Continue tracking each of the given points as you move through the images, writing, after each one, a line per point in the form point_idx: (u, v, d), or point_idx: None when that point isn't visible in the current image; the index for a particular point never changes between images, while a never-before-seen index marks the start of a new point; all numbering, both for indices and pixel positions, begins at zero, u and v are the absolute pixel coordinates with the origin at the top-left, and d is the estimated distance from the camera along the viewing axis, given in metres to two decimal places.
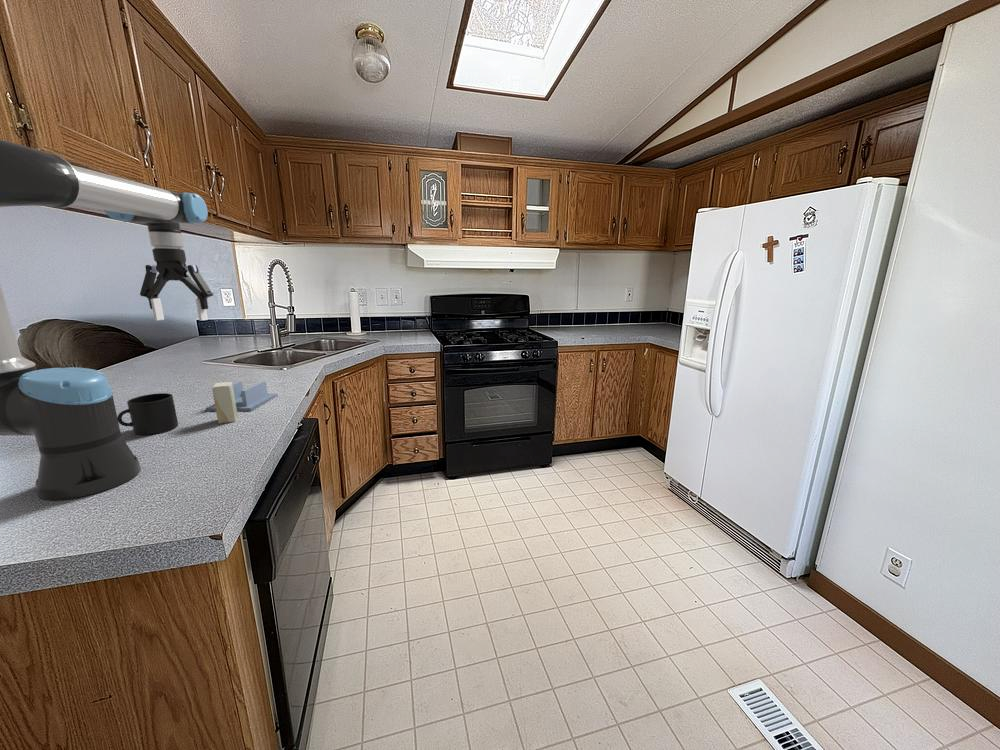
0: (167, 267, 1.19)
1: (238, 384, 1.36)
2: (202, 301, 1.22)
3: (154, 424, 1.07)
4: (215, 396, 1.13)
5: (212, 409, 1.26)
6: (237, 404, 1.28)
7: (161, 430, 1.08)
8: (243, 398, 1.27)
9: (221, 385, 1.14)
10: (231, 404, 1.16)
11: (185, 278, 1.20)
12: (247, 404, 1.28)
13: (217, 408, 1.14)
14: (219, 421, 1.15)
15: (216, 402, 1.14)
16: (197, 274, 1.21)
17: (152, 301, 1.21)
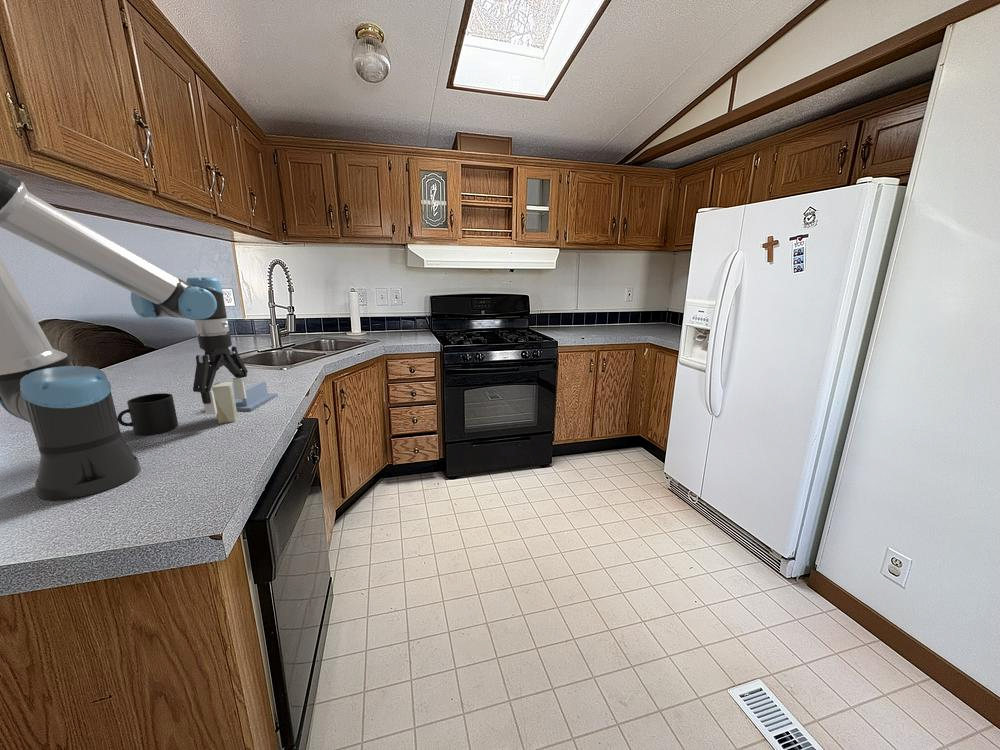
0: None
1: None
2: None
3: (154, 424, 1.07)
4: (215, 396, 1.13)
5: None
6: (237, 404, 1.28)
7: (161, 430, 1.08)
8: None
9: (221, 385, 1.14)
10: (231, 404, 1.16)
11: (207, 367, 1.10)
12: (247, 404, 1.28)
13: (217, 408, 1.14)
14: (219, 421, 1.15)
15: (216, 402, 1.14)
16: (201, 365, 1.07)
17: None
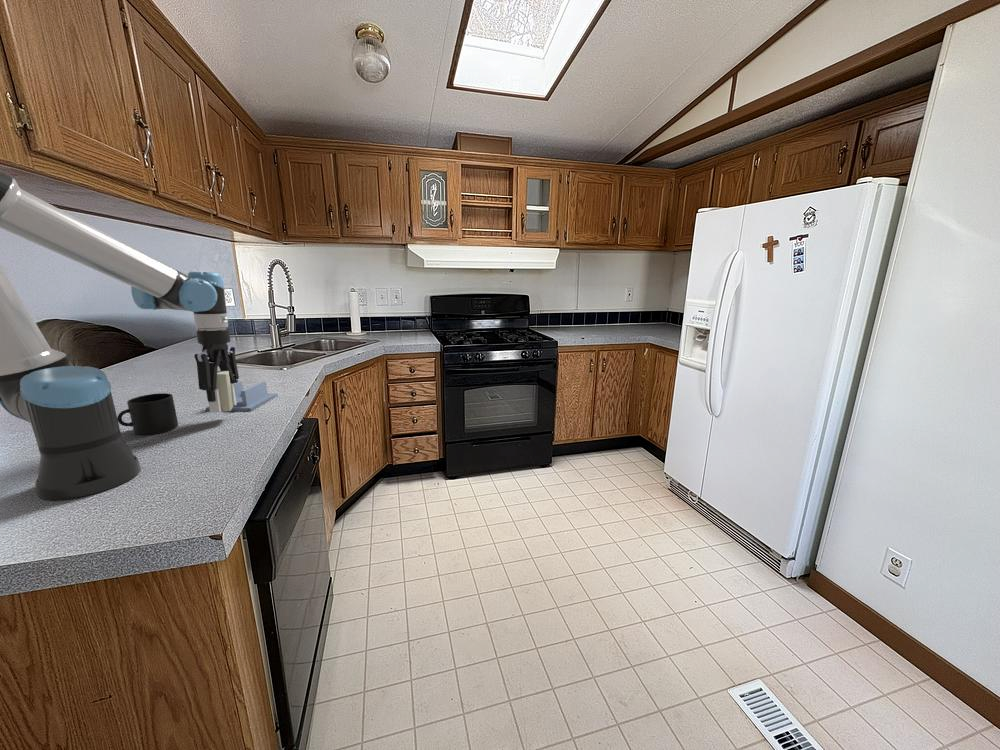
0: None
1: (238, 384, 1.36)
2: None
3: (154, 424, 1.07)
4: None
5: None
6: (237, 404, 1.28)
7: (161, 430, 1.08)
8: (243, 398, 1.27)
9: (217, 373, 1.13)
10: (227, 393, 1.14)
11: None
12: (247, 404, 1.28)
13: None
14: None
15: None
16: (201, 364, 1.07)
17: None
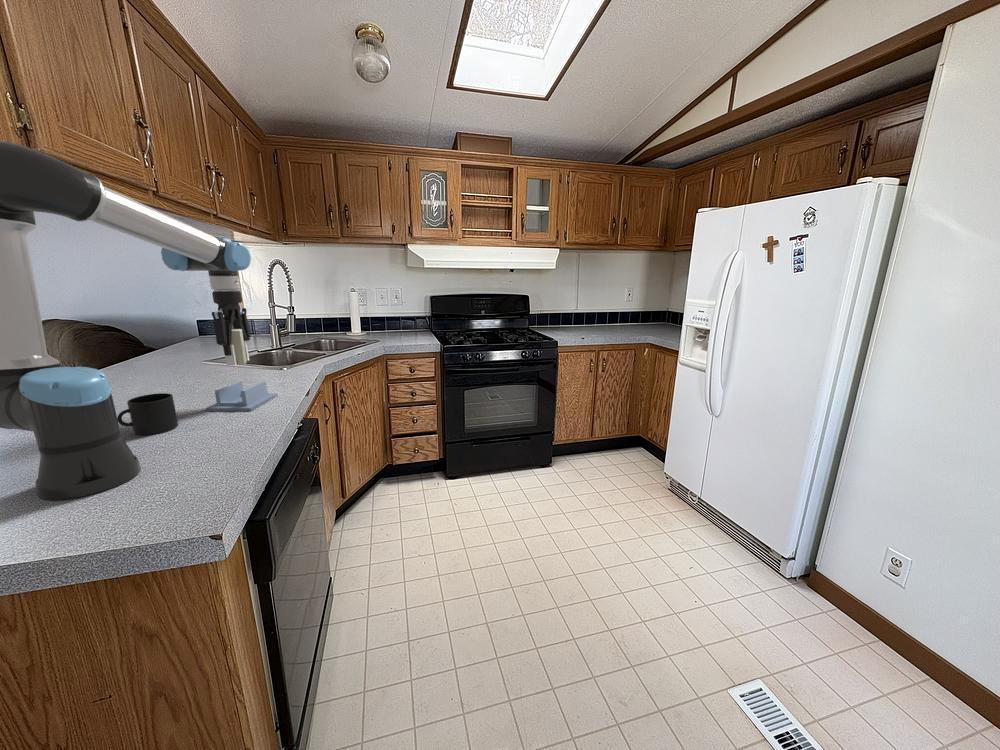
0: None
1: (238, 384, 1.36)
2: None
3: (154, 424, 1.07)
4: None
5: (212, 409, 1.26)
6: (237, 404, 1.28)
7: (161, 430, 1.08)
8: (243, 398, 1.27)
9: (232, 330, 1.27)
10: (241, 348, 1.28)
11: None
12: (247, 404, 1.28)
13: None
14: None
15: None
16: (218, 321, 1.21)
17: None
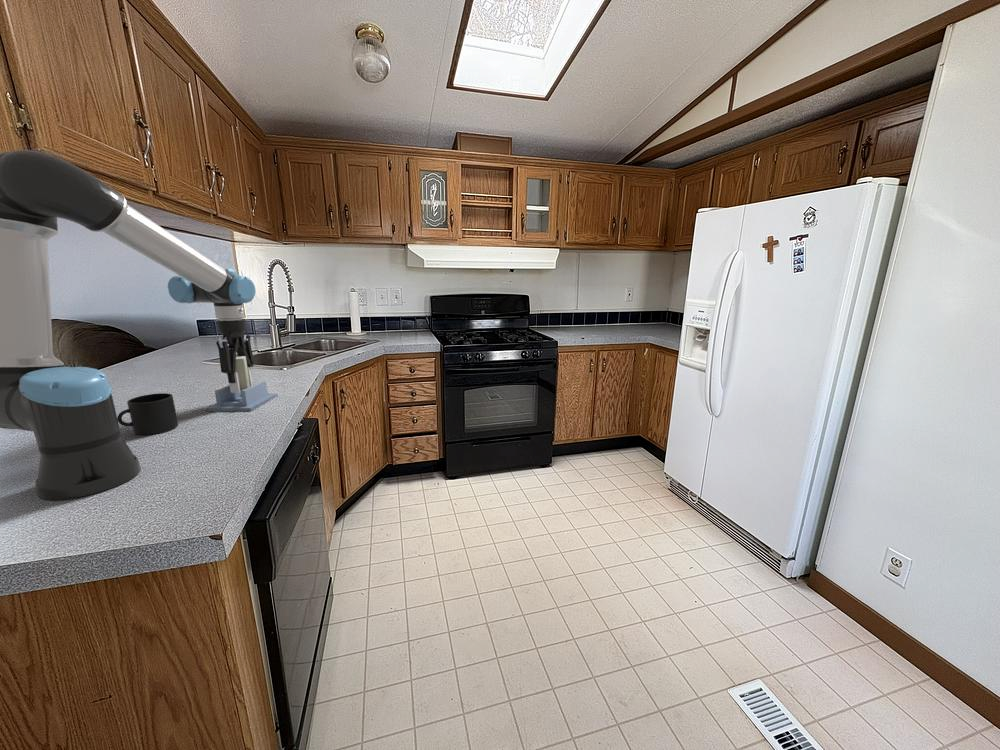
0: None
1: None
2: None
3: (154, 424, 1.07)
4: None
5: (212, 409, 1.26)
6: (237, 404, 1.28)
7: (161, 430, 1.08)
8: (243, 398, 1.27)
9: (236, 358, 1.29)
10: (245, 375, 1.30)
11: None
12: (247, 404, 1.28)
13: None
14: None
15: None
16: (222, 350, 1.23)
17: None
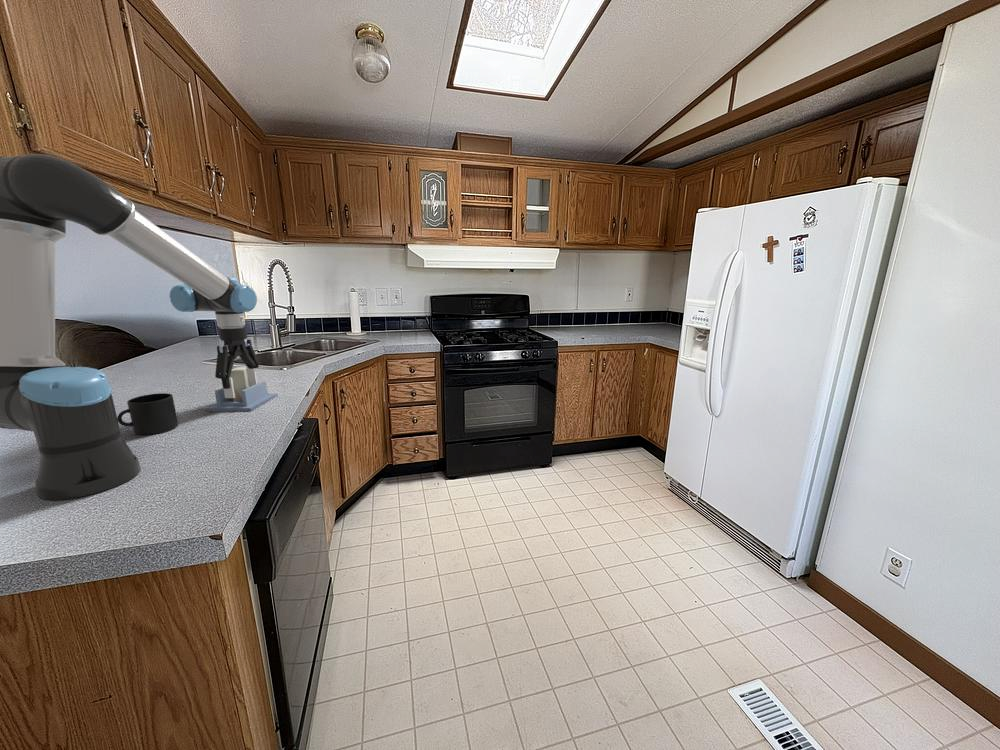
0: None
1: None
2: None
3: (154, 424, 1.07)
4: None
5: (212, 409, 1.26)
6: (237, 404, 1.28)
7: (161, 430, 1.08)
8: (243, 398, 1.27)
9: (236, 369, 1.29)
10: (245, 386, 1.30)
11: None
12: (247, 404, 1.28)
13: None
14: (234, 401, 1.30)
15: None
16: (221, 355, 1.22)
17: None
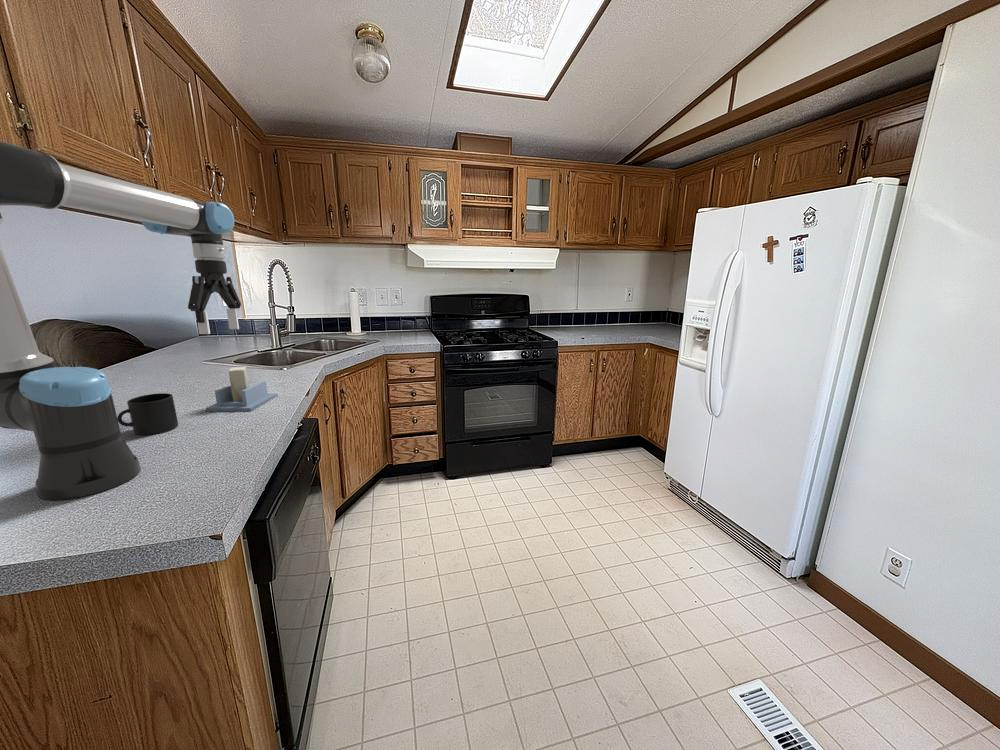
0: None
1: None
2: None
3: (154, 424, 1.07)
4: (231, 379, 1.28)
5: (212, 409, 1.26)
6: (237, 404, 1.28)
7: (161, 430, 1.08)
8: (243, 398, 1.27)
9: (236, 369, 1.29)
10: (245, 386, 1.30)
11: (202, 289, 1.17)
12: (247, 404, 1.28)
13: (233, 389, 1.29)
14: (234, 401, 1.30)
15: (232, 384, 1.28)
16: (196, 285, 1.13)
17: None
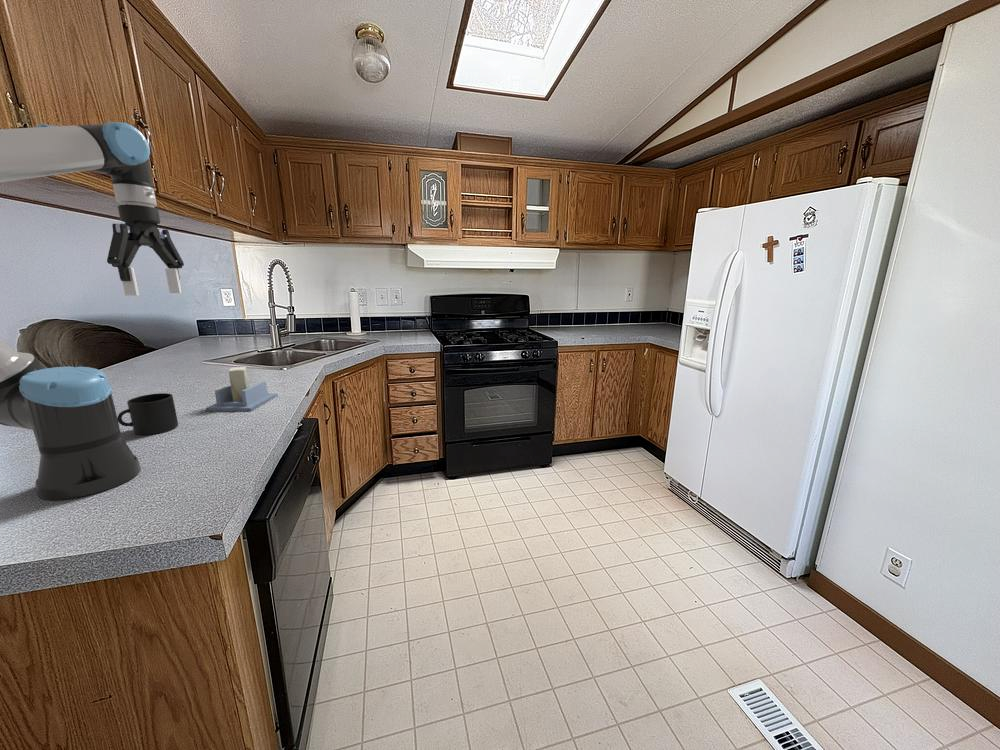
0: None
1: None
2: None
3: (154, 424, 1.07)
4: (231, 379, 1.28)
5: (212, 409, 1.26)
6: (237, 404, 1.28)
7: (161, 430, 1.08)
8: (243, 398, 1.27)
9: (236, 369, 1.29)
10: (245, 386, 1.30)
11: (128, 241, 0.96)
12: (247, 404, 1.28)
13: (233, 389, 1.29)
14: (234, 401, 1.30)
15: (232, 384, 1.28)
16: (118, 235, 0.93)
17: None
